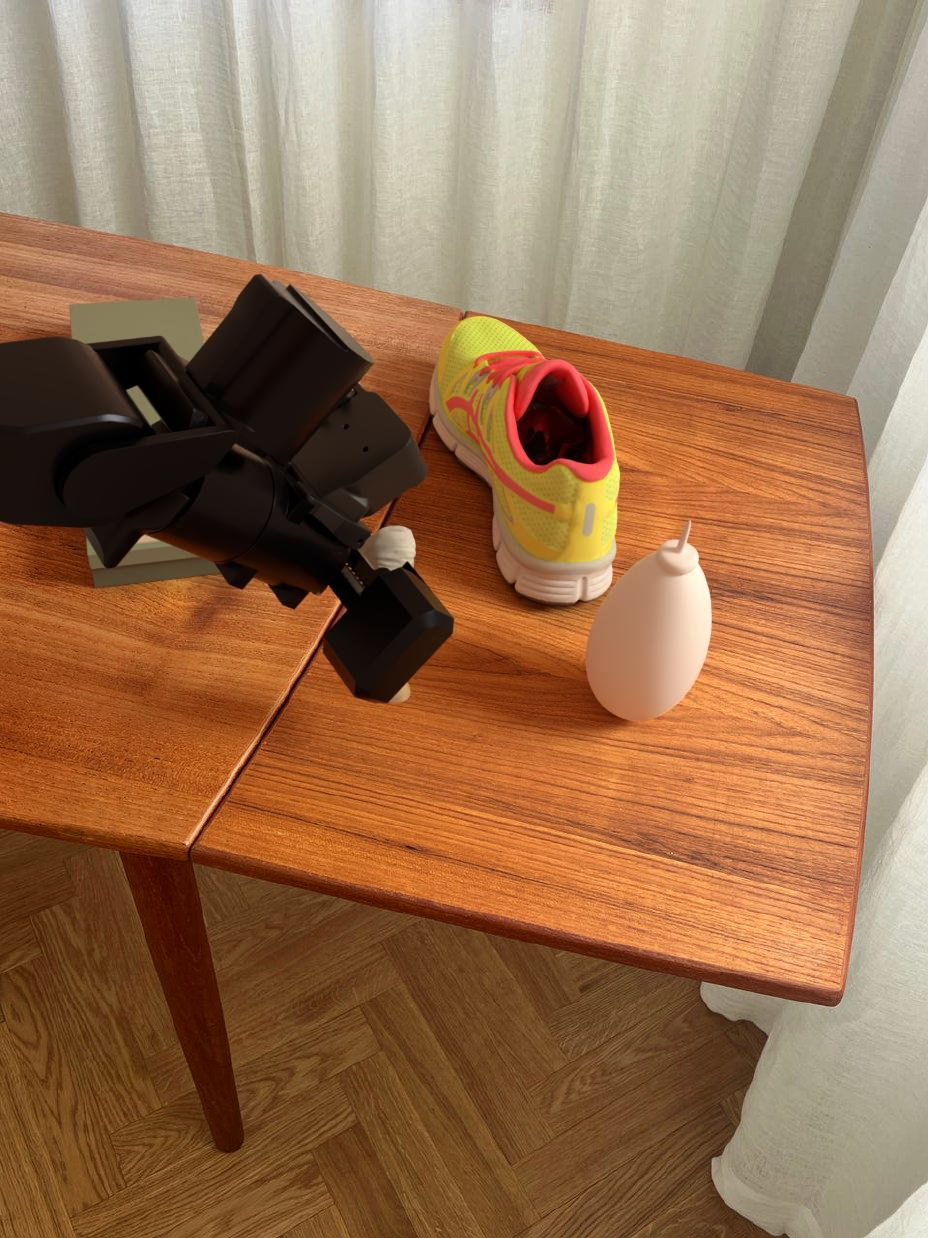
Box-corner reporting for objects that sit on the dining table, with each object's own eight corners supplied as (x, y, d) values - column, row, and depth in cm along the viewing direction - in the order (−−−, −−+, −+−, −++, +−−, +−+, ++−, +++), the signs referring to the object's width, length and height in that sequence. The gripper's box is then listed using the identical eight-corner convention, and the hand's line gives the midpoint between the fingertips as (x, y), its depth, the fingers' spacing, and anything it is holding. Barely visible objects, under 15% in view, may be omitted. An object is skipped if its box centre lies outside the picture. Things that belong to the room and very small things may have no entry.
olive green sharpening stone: (246, 575, 84) (243, 535, 81) (95, 593, 82) (86, 552, 79) (198, 334, 104) (194, 294, 101) (76, 342, 102) (68, 301, 99)
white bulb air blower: (605, 645, 83) (660, 460, 70) (698, 695, 81) (774, 514, 68) (553, 711, 79) (602, 526, 65) (650, 767, 76) (722, 587, 63)
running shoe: (528, 365, 107) (552, 227, 96) (664, 600, 87) (713, 460, 77) (405, 378, 103) (415, 237, 93) (518, 625, 84) (548, 483, 73)
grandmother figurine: (436, 700, 71) (460, 562, 62) (387, 725, 69) (404, 587, 60) (370, 622, 75) (383, 481, 65) (321, 644, 73) (328, 502, 64)
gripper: (439, 499, 48) (589, 591, 61) (248, 283, 58) (412, 402, 71) (276, 680, 50) (454, 732, 63) (119, 443, 60) (300, 530, 73)
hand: (405, 588), depth 68 cm, fingers closed on grandmother figurine, 6 cm apart
